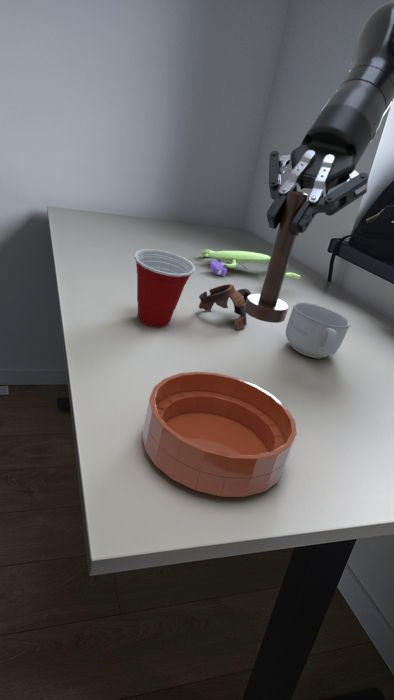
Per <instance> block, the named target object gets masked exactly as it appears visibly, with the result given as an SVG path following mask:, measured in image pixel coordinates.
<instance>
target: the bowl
mask: <svg viewBox="0 0 394 700" xmlns="http://www.w3.org/2000/svg"><path fill="white" fill-rule="evenodd" d="M297 434H298V432H297V426H296V419H295V418H294V416H293V414H292V413H291V412H290V410H289V408H288V407H287V406H286V405H285V404H283V402H281V401H280V400H279V399H278V398H277V397H275V395H274V394H271V393H270V392H268V391H267V390H265V389H263V388H261V387H260V386H258V385H257V384H253V383H251V382H249V381H246V380H244V379H241V378H239V377H236V376H230V375H227V374H222V373H217V372H208V371H207V372H206V371H190V372H189V371H188V372H180V373H177V374H174V375H173V374H172V375H170V376H168V377H165V378H163V379H162V380H160V382H158V383H156V385H155V386H154V387H153V388H152V391H151V393H150V396H149V399H148V404H147V408H146V415H145V420H144V425H143V430H142V434H141V435H142V440H143V447H144V451H145V452H146V454H147V455H148V457H149V458H150V460H151V462H152V463H153V464H154V466H156V468H158V469H159V470H160V471H162V473H164V474H165V475H166V476H167V477H169V478H170V479H171V480H173V481H175V482H177V483H178V484H181V485H183V486H185V487H187V488H189V489H192V490H193V491H196V492H201V493H205V494H209V495H212V496H216V497H222V498H223V497H224V498H225V497H227V498H228V497H229V498H231V497H232V498H233V497H234V498H244V497H249V496H252V495H256V494H260V493H263V492H266V491H268V490H269V489H270V488H272V486H274V485H276V484H277V483H278V482H279V481H280V479H281V476H282V475H283V472H284V471H285V468H286V465H287V462H288V459H289V457H290V454H291V451H292V448H293V446H294V442H295V440H296V437H297Z"/></svg>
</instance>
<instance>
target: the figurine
mask: <svg viewBox="0 0 394 700" xmlns="http://www.w3.org/2000/svg"><path fill="white" fill-rule="evenodd" d="M201 255H202V256H203V257H205V258H211V259H213V260H212V261H210V263H209V270H210V271H211V272H213V273H214V274H215V275H216V276H222V277H226V276H227V273H228V269H235V268H236V266H237V263H238V264H239V265H241V266H242V267H243V268H245V269H247V267H246V266H245V265H244V264H258V263H259V264H260V263H266V262H267V263H269V261H270V257H271V255H268V254H265V253H260V252H253V251H244V250H219V251H214V250H212V249H203V250H202V251H201ZM288 267H289V265H288V266H287V268H288ZM286 278H293V279H296V280H298V281H300V280H301V275H300V274H297V273H294V272H286V273H285V277H284V279H286Z"/></svg>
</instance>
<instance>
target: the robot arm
mask: <svg viewBox="0 0 394 700" xmlns="http://www.w3.org/2000/svg"><path fill="white" fill-rule="evenodd" d="M354 47H355V48H354V52H353V56H352V60H351V63H350V68H349V71H348V73H347V74H346V76H345V78H344V79H343V81H342V82H341V84H340V85H339V86H338V88H337V89H336V90H335V92H333V94H332V95H331V96H330V97H329V99H328V100H327V101H326V103H325V105H324V106H323V108H322V109H321V111H320V112H319V114H318V115H317V117H316V118H315V119H314V121H313V122H312V125H311V126H310V127H309V129H308V130H307V132H306V134H305V135H304V137H303V139H302V142H301V144H300V145H299V146H298V147H296V148H294V149H293V150H292V151H291V152H290V154H282V155H280V152H279V151H278V150H272V151H271V152H270V153H269V160H268V161H269V162H268V163H269V164H268V168H269V169H268V188H269V194H270V198H271V199H272V200H273V202H272V203H271V205H270V206H269V208H268V209H267V211H266V218H267V219H266V220H267V223H268V227H269V228H270V229H272V230H276V229H278V227H279V224H280V220H281V216H282V213H283V209H284V205H285V202H286V198H287V194H288V191H289V190H294V191H299V192H303V193H304V191H305V190H306V189H310V190H311V191H310V193H309V195H308V199H307V200H306V201H304V203H303V205H302V206H301V208H300V209H299V211H298V213H297V214H296V216H295V217H294V219H293V221H292V223H291V234H292V235H295V236H296V237H298V236H299V235H300V234H303V233H305V232H306V231H307V230H308V228H309V227H310V225H311V223H312V222H313V220H314V218H315V217H316V216H318V215H319V214H325V215H326V216H329V217H331V216H334V215H335V214H337V213H339V212H340V211H341V210H343V209H345V208H346V207H347V206H349V205H351V204H352V203H353V202H355V201H356V200H358V199H359V198H361V197H362V196H364V195H365V194H367V192H368V185H369V174H368V173H367V172H360V173H359V172H358V171H357V170H356V167H357V165H358V163H359V161H360V160H361V158H362V157H363V155H364V153H365V152H366V150H367V148H368V147H369V145H370V143H371V142H372V141H373V140H374V138H375V136H376V134H377V131H378V130H379V128H380V126H381V123H382V120H383V118H384V116H385V114H386V113H387V111H388V109H389V108H390V107H391V105H392V103H393V101H394V0H392V1H387V2H385V3H383V4H381V5H380V6H378V7H377V8H376V9H375V10H374V11H373V12H372V13H371V14H370V15H369V17H368V18H367V19H366V20H365V23H364V24H363V26H362V28H361V30H360V31H359V35H358V37H357V40H356V44H355V46H354ZM289 166H291V171H290V172H289V173H288V176H287V178H286V180H285V181H284V183H282V184H281V177H282V176H281V175H284V174H285V172H286V170H287V168H288V167H289ZM338 186H339V187H338ZM336 187H337V188H336ZM332 189H334V190H332ZM331 190H332V191H331ZM330 191H331V192H330Z"/></svg>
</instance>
